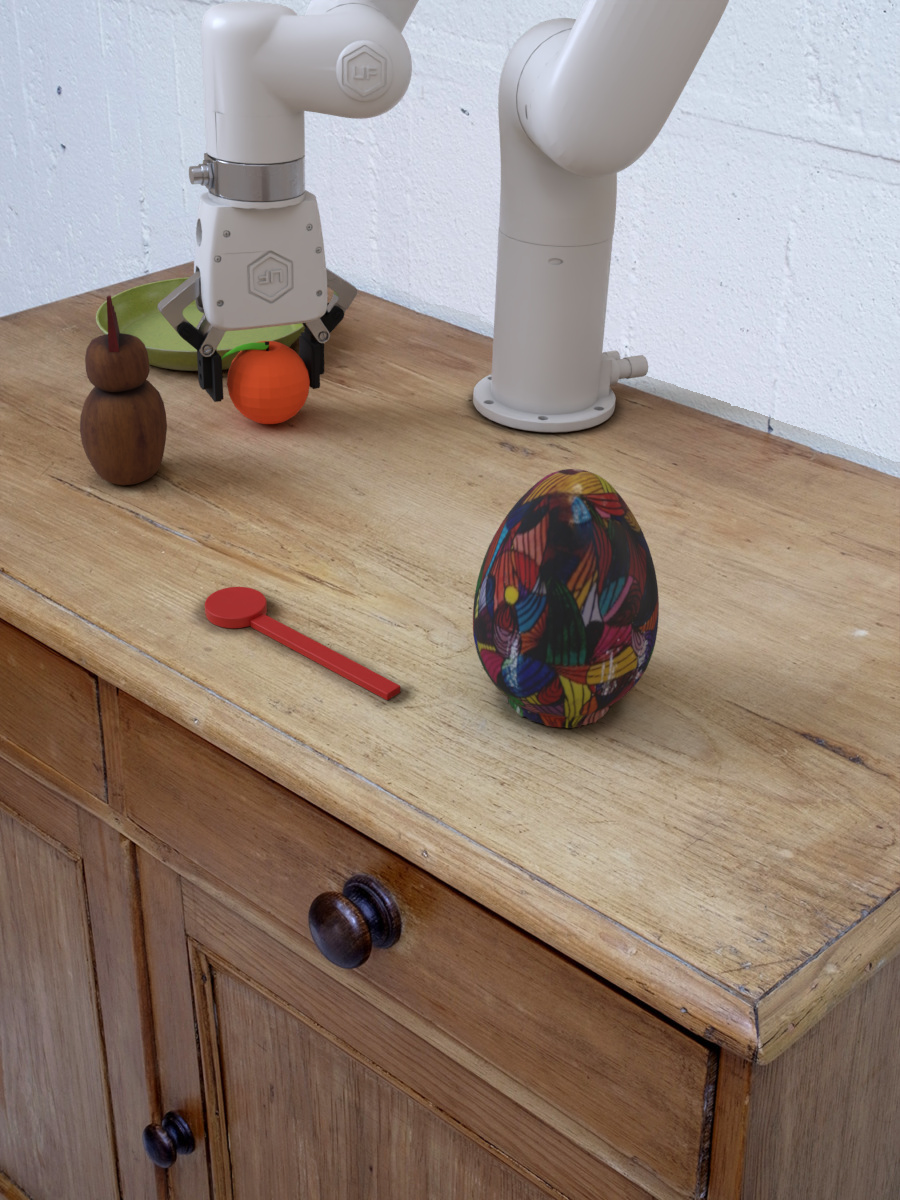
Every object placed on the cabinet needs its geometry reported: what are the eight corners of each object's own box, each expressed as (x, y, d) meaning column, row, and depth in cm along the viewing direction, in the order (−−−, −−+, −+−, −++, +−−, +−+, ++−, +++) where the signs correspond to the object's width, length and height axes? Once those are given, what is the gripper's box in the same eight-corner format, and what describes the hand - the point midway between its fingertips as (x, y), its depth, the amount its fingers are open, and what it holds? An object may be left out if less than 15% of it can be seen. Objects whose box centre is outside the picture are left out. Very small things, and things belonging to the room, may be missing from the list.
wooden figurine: (147, 498, 100) (127, 307, 92) (76, 489, 100) (50, 299, 93) (181, 461, 105) (164, 277, 97) (113, 453, 106) (92, 270, 98)
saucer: (141, 299, 138) (138, 269, 136) (334, 314, 136) (334, 283, 134) (65, 372, 120) (61, 339, 119) (285, 390, 118) (284, 356, 116)
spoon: (416, 682, 80) (416, 671, 80) (371, 711, 77) (371, 700, 77) (238, 590, 89) (237, 579, 88) (192, 613, 86) (191, 602, 86)
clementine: (217, 439, 109) (211, 358, 105) (216, 406, 115) (211, 328, 111) (313, 436, 110) (311, 355, 106) (308, 403, 116) (306, 326, 112)
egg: (632, 649, 84) (658, 433, 76) (661, 753, 75) (693, 520, 67) (465, 648, 83) (474, 431, 75) (474, 753, 74) (484, 519, 66)
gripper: (158, 197, 96) (173, 420, 105) (378, 182, 102) (374, 392, 112) (133, 173, 101) (149, 386, 110) (343, 160, 108) (342, 362, 117)
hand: (262, 388), depth 111 cm, fingers closed on clementine, 8 cm apart
